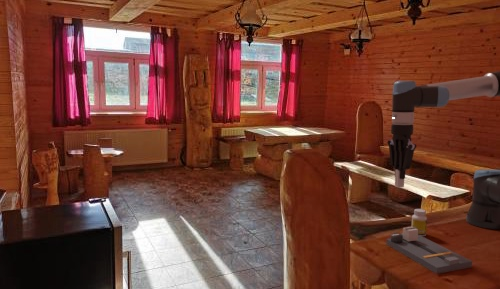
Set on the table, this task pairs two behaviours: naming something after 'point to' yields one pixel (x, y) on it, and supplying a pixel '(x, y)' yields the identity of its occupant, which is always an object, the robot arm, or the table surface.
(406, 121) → the robot arm
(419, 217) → the supplement bottle
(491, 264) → the table surface
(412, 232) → the fader knob
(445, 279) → the table surface
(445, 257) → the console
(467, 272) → the table surface
